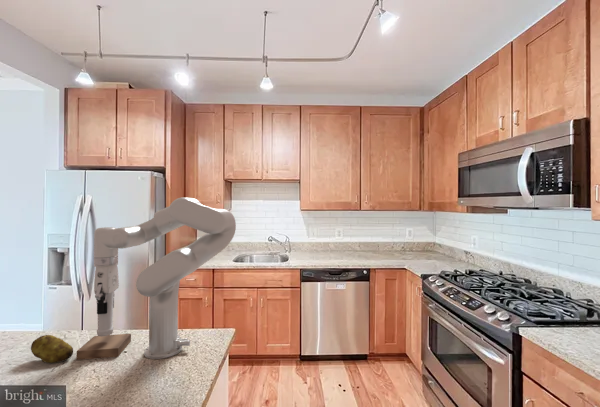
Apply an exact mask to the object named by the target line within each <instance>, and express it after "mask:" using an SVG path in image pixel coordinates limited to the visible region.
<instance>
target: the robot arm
mask: <svg viewBox="0 0 600 407" xmlns="http://www.w3.org/2000/svg"><path fill="white" fill-rule="evenodd" d="M236 224H237V223H236V219H235V216H234V214H233V213H232V212H231V211H229V210H228V209H225V208H213V207H210V206H206V205H203V204H202V203H201V202H200V200H198V199H196V198H193V197H183V196H182V197H178V198H176V199H174V200H173V201H172V202H171V203H170V205H169V206H166V207H164V208H162V209H159V210H158V211H155V212H154V214H153V218H151V219H149V220H146V221H145V222H143V223H140V224H138V225H135V226H134V225H133V226H125V227H123V226H122V227H112V226H111V227H106V226H105V227H98V228H96V229H95V230H94V233H93V234H94V238H93V239H94V240H93V241H94V242H93V243H94V244H93V267H95V271H94V278H93V279H94V281H93V284H94V285H93V293H94V294H95V295H94V298H95V299H96V314H97V315H98V314H106V313H107V302H106V300H107V294H110V293H112V292H114V293H115V291H117V289H119V286H120V285H119V284H120V283H119V268H118V265H119V249H121V250H122V249H127V248H128V249H129V248H132V247H137V246H141V245H144V244H146V243H148V242H150V241H153V240H155V239H157V238H159V237H161V236H164V235H166V234H167V233H169V232H172V231H174V230H177V229H179V228H181V227H183V226H187V227H189V228H191V229H194V230H197V231H200V232H203V233H205V234H204V235H201V236H200V237H199V238H197V239H195V241H192V242H191V243H190V244H188V245H187V246H185V247H182V248H179V249H176V250H172V251H171V252H169V253H167V254H165V255H164V256H162V257H161V258H159V259H158V260H156V261H155V262H154V263H152V264H151V265H149V266H148V267H146V268H145V269H144V270H142V271H141V272H140V273H139V275H138V276H137V279H136V281H135V283H136V284H135V288H136V290H137V292H138V293H139V294H140V295H142V296H144V297H148V298H149V305H148V306H149V309H148V329H149V330H148V346H146V348H145V349H144V351H143V355H144V356H145V358H148V359H151V360H159V359H160V360H162V359H167V358H169V357H174V356H175V355H177V354H179V353H180V352H181V351H182V349H183V347H187V346H190V345H191V340H190V339H189V338H186V337H185V338H181V336H180V334H179V333H178V332H179V331H178V330H179V327H178V325H179V324H178V323H179V321H178V320H179V319H178V318H179V316H178V315H179V289H180V284H181V280H182V279H184V278H186V277H188V276H189V275H191V274H193V273H194V272H196V271H197V270H198V269H199V268H201V267H202V266H203V265H204V264H206V263H207V262H208V261H210V260H211V259H213V258H215V256H217V255H219V253H221V252H223V250H225V249H226V248H227V247H228V246H229V245H230V243H231V242H232V240H233V238H234V236H235V233H236V227H237V226H236ZM101 292H104V293H105V294H101ZM103 296H104V298H103ZM114 308H115V299H114V300H113V309H114Z"/></svg>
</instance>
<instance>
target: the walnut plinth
mask: <svg viewBox="0 0 600 407" xmlns="http://www.w3.org/2000/svg"><path fill="white" fill-rule="evenodd" d="M131 342H132V333H122V334H119V333H118V334H110V335H108V336H98V335H93V337H91V338H90V339H89V340H88V341H87V342H85V343H84V344H83V345H82V346H81V347H80V348H78V349H77V351H76V361H83V360H94V359H95V360H96V359H106V358H108V359H109V358H119V357H120V355H121V354H122V353H123V352H124V350H125V349H126V348H127V347H128V346H129V345H130V343H131Z"/></svg>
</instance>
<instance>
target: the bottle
mask: <svg viewBox="0 0 600 407" xmlns="http://www.w3.org/2000/svg"><path fill="white" fill-rule="evenodd" d="M101 294H105V293H104V292H101ZM103 298H104V296H103ZM113 300H114V301H115V291H114V292H112V293H110V294H107V300H106V302H107V313H106V314H97V330H96V334H97V335H96V336H108V335H113V333H114V326H113V324H114V323H113V322H114V320H113V319H114V308H113Z"/></svg>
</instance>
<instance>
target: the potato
mask: <svg viewBox="0 0 600 407" xmlns="http://www.w3.org/2000/svg"><path fill="white" fill-rule="evenodd" d="M30 351H31V354H33V356H34V357H36V359H40V360H41V361H42V362H44V363H47V364H55V363H60V362H64V361H67V360H68V359H70V358H71V357H72V356H73V355H74V348H73V346H72V345H71V344H70V343H68V342H66V341H65V340H64V339H62V338H60V337H57V336H55V335H52V334H45V335H41V336H39V337H38V338H36V339H34V340H33V341H32V342H31V345H30Z"/></svg>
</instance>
